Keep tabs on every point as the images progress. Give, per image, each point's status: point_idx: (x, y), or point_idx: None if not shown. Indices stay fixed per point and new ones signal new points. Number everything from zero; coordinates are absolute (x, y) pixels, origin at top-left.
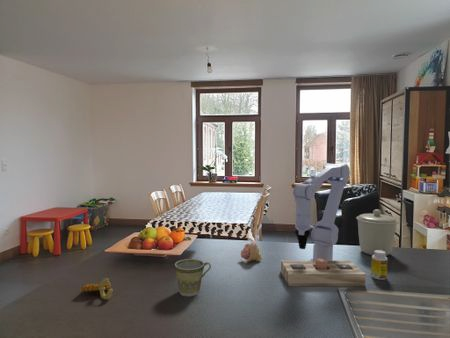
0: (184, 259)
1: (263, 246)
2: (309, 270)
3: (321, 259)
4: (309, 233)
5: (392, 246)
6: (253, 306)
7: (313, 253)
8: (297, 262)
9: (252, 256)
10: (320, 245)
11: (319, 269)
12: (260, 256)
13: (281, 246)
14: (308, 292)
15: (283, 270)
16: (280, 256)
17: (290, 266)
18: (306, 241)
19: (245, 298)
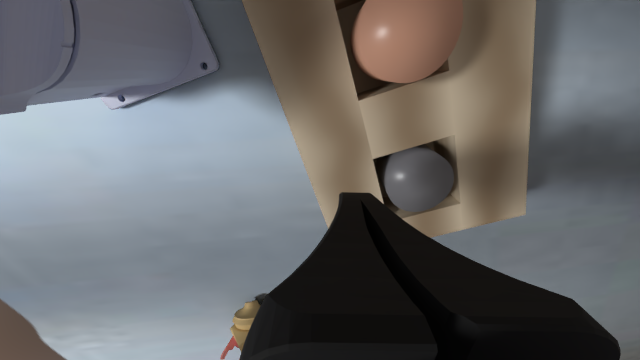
0: None
1: (81, 308)
2: (471, 117)
3: (382, 28)
4: (607, 333)
5: None
6: (634, 264)
7: (76, 98)
8: (347, 188)
9: None
10: (73, 34)
11: None
12: (255, 314)
13: (19, 252)
14: (550, 105)
15: None
16: (159, 243)
17: (417, 216)
18: (419, 231)
19: (576, 288)
